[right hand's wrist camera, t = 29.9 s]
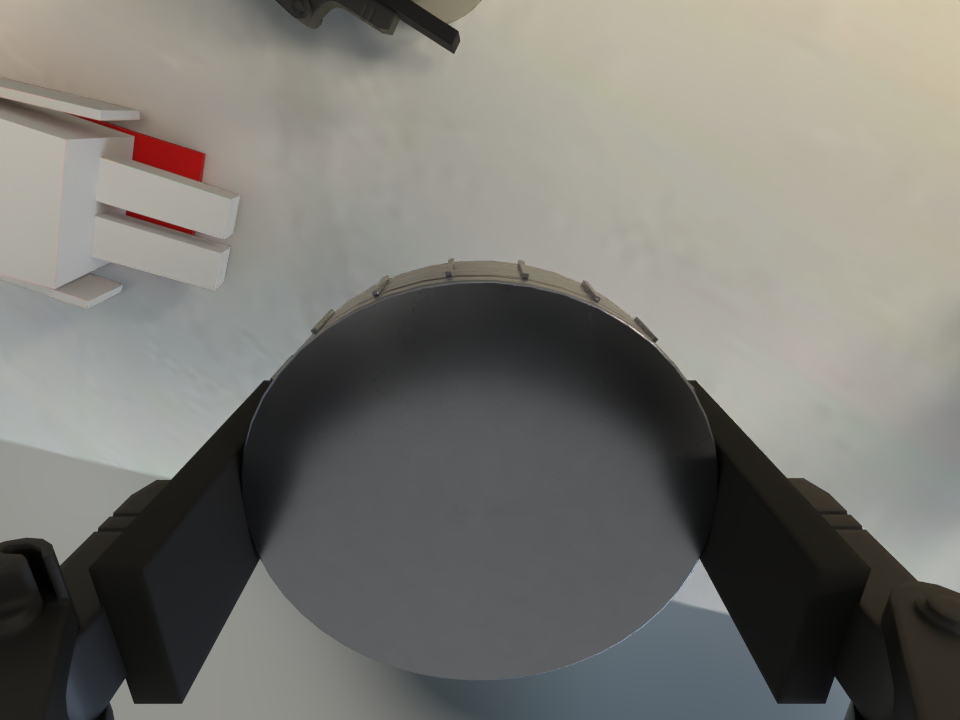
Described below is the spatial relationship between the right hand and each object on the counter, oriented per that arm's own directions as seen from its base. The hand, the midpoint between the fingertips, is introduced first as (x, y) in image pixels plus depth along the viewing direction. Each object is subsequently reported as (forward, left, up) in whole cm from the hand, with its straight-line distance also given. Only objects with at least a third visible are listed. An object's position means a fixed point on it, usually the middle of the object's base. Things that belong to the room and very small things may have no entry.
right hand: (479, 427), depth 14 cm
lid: (0, 0, +3) cm, 3 cm away
